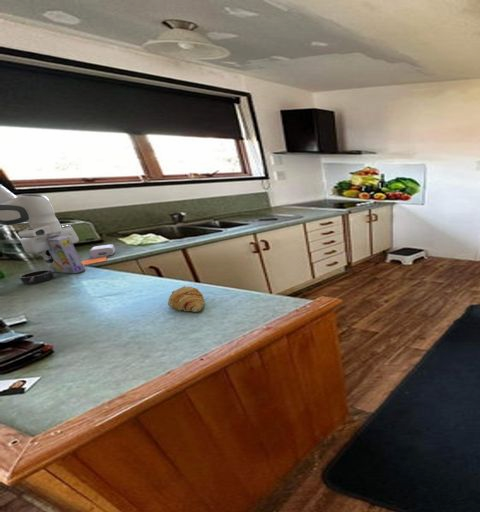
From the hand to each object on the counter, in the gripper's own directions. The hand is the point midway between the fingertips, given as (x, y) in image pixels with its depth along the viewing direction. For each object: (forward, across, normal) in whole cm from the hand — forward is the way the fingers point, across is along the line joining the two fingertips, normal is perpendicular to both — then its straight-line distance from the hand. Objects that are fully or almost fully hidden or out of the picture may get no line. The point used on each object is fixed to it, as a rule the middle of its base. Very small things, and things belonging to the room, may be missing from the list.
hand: (59, 256), depth 132 cm
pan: (+8, +12, 0) cm, 14 cm away
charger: (+8, -29, -7) cm, 31 cm away
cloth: (+8, -14, 0) cm, 16 cm away
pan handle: (+5, +18, +6) cm, 20 cm away
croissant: (+8, +40, +85) cm, 95 cm away
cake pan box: (+8, 0, +1) cm, 8 cm away
